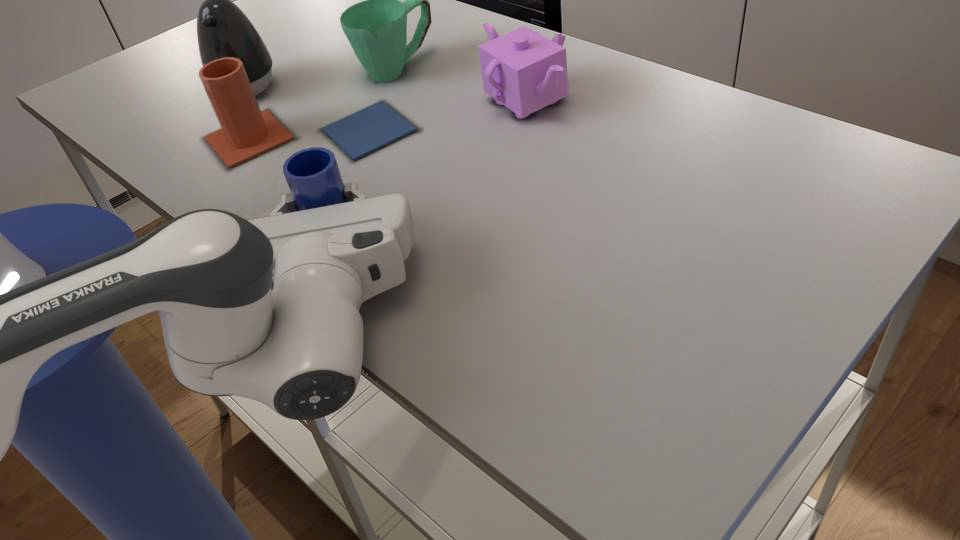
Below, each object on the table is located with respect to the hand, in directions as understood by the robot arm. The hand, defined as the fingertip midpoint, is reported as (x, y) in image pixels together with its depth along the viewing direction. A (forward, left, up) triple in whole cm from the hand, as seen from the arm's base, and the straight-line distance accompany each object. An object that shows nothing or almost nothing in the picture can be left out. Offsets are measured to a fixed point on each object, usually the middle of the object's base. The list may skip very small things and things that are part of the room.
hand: (321, 192), depth 88 cm
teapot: (+35, +6, -6) cm, 36 cm away
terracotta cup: (0, +27, -6) cm, 28 cm away
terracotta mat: (0, +27, -6) cm, 28 cm away
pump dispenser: (+5, +40, -6) cm, 41 cm away
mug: (+26, +28, -6) cm, 39 cm away
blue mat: (+14, +16, -6) cm, 22 cm away
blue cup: (0, -1, -6) cm, 6 cm away
